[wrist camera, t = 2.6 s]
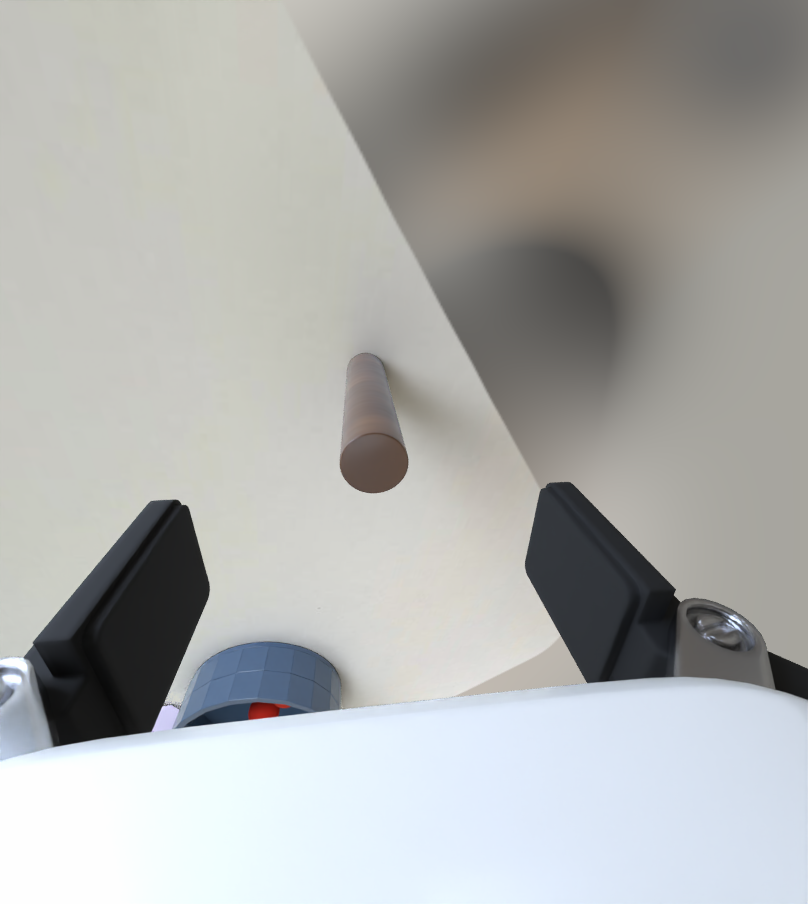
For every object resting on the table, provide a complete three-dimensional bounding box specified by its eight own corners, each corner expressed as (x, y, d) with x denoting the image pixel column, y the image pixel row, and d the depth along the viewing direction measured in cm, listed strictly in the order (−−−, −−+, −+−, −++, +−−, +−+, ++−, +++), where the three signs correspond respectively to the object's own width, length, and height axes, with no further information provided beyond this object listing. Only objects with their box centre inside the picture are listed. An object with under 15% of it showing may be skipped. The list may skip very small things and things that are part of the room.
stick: (384, 352, 27) (409, 432, 14) (384, 389, 28) (407, 492, 15) (346, 353, 26) (337, 433, 14) (348, 389, 28) (341, 495, 15)
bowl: (337, 635, 38) (334, 690, 33) (344, 726, 45) (343, 782, 40) (174, 648, 37) (146, 708, 32) (207, 740, 43) (188, 801, 38)
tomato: (280, 685, 40) (274, 716, 37) (283, 703, 41) (278, 734, 38) (250, 688, 40) (242, 719, 37) (254, 706, 41) (247, 737, 38)
